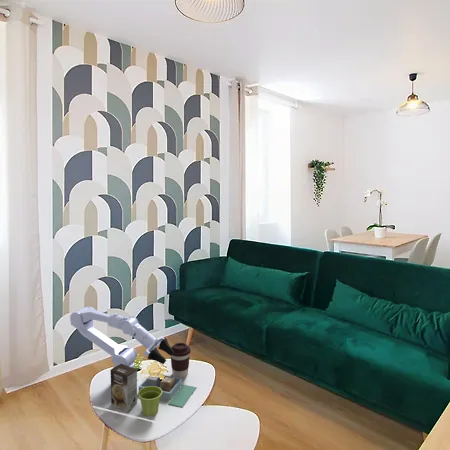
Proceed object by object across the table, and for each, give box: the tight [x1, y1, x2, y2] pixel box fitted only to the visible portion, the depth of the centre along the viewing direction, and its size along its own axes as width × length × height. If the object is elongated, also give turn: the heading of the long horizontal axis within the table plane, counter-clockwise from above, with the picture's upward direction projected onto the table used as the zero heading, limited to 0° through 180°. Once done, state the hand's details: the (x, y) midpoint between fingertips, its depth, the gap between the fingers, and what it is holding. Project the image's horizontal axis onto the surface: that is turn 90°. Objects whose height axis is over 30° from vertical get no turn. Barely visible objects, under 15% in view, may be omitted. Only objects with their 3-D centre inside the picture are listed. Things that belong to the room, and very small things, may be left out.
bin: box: [138, 374, 183, 401], centre depth 167 cm, size 15×12×4 cm
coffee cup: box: [170, 342, 192, 379], centre depth 178 cm, size 10×10×15 cm
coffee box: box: [109, 364, 138, 412], centre depth 154 cm, size 9×6×16 cm
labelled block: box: [161, 375, 175, 392], centre depth 165 cm, size 4×4×5 cm
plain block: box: [146, 375, 161, 387], centre depth 167 cm, size 4×4×5 cm
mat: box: [168, 384, 197, 408], centre depth 162 cm, size 6×15×1 cm, turn 162°
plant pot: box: [137, 386, 162, 417], centre depth 151 cm, size 9×9×9 cm
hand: (168, 358), depth 163 cm, fingers open, 7 cm apart
